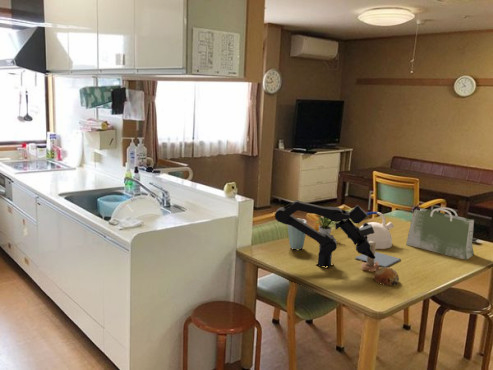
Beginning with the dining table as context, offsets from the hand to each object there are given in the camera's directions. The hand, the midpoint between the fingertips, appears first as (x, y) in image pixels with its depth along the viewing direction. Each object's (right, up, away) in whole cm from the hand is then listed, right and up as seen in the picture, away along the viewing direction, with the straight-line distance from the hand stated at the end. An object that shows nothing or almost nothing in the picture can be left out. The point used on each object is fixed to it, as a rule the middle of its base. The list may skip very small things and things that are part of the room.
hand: (373, 254), depth 203 cm
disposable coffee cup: (-33, -1, +27) cm, 43 cm away
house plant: (-15, +2, +46) cm, 49 cm away
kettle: (+12, 0, +41) cm, 43 cm away
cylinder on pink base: (-1, -7, +1) cm, 7 cm away
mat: (+6, -5, +15) cm, 17 cm away
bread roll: (+2, -10, -12) cm, 16 cm away
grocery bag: (+45, -3, +35) cm, 57 cm away
